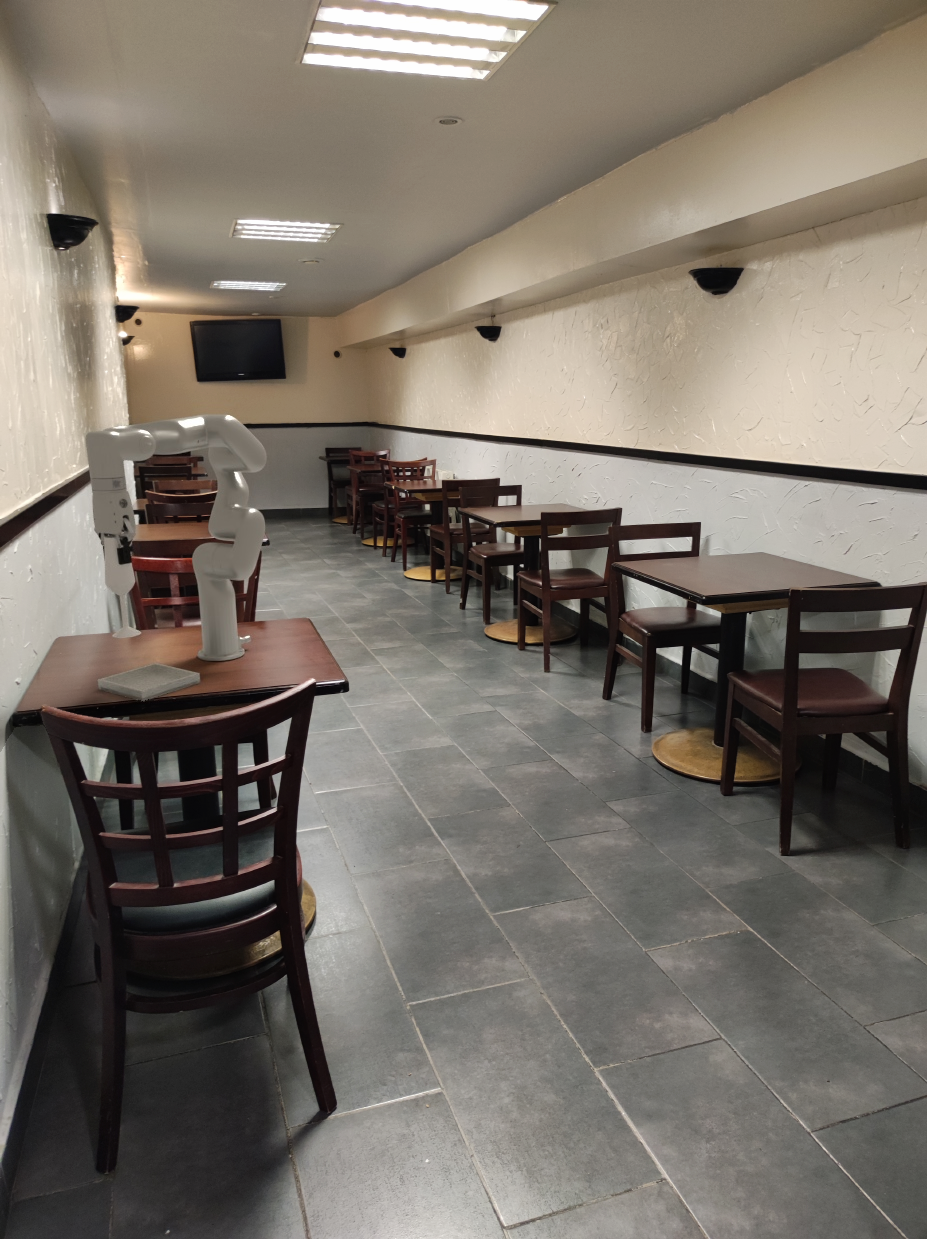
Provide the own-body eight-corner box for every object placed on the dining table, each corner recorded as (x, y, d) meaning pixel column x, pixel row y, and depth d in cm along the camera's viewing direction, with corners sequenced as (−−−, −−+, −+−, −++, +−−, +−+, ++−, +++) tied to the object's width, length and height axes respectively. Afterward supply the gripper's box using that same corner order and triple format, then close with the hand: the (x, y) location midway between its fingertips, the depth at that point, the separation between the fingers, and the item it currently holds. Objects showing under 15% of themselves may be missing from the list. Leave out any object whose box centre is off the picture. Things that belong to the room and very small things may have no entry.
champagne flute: (109, 638, 202) (96, 539, 196) (114, 631, 209) (102, 534, 202) (139, 636, 204) (127, 537, 197) (143, 629, 210) (132, 533, 204)
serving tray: (156, 672, 222) (155, 662, 222) (200, 682, 213) (199, 673, 213) (98, 689, 208) (97, 679, 208) (142, 701, 199) (141, 691, 199)
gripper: (145, 485, 195) (154, 563, 200) (101, 482, 204) (111, 556, 209) (116, 488, 189) (126, 569, 194) (72, 485, 198) (83, 561, 203)
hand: (118, 561), depth 201 cm, fingers closed on champagne flute, 4 cm apart
